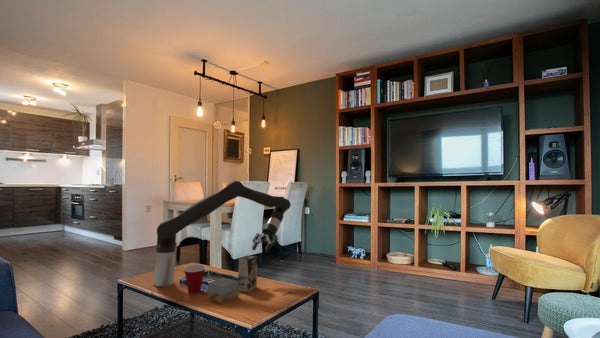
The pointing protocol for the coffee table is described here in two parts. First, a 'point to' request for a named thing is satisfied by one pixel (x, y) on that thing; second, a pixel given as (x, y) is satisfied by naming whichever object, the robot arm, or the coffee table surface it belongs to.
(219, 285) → the tower top
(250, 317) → the coffee table surface
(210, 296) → the tower base
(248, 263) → the coffee box
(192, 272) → the plastic cup
